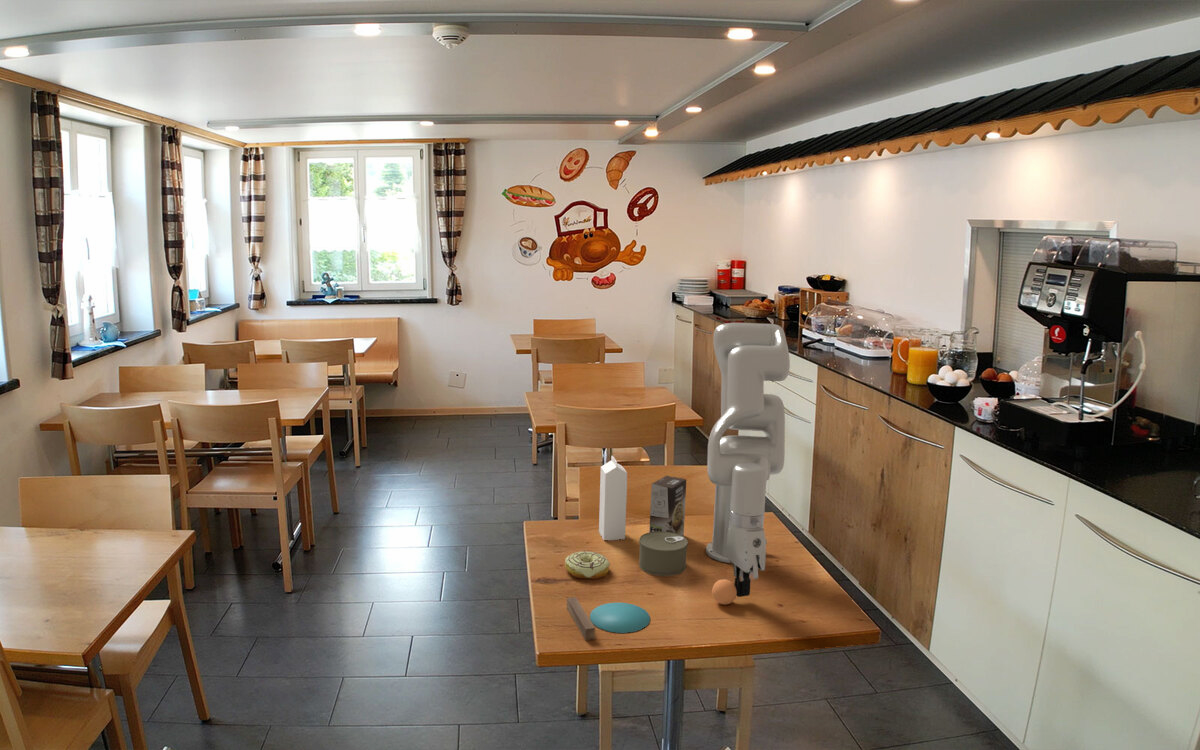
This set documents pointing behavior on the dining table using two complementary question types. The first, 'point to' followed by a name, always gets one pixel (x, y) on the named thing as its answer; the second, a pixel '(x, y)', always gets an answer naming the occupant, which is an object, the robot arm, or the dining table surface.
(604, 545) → the dining table surface
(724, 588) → the ball
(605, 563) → the decorated donut
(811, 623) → the dining table surface
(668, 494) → the coffee box
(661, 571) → the can
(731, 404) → the robot arm
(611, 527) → the milk
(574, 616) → the rail
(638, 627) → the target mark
